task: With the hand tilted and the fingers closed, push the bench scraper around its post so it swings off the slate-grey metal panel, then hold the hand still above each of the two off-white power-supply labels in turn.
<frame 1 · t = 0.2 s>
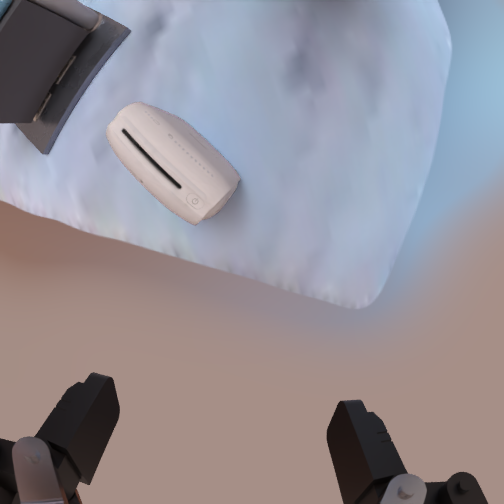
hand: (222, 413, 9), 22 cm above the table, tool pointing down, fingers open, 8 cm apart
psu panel: (61, 74, 24), on the table
photo printer: (198, 158, 27), on the table
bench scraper: (20, 53, 15), point 9 cm above the table, hinge at 0.0°
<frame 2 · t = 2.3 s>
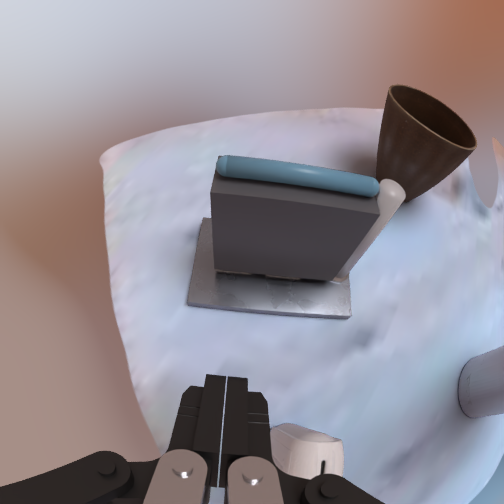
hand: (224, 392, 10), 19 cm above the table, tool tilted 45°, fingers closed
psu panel: (272, 269, 33), on the table
plant pot: (393, 186, 44), on the table
photo printer: (281, 467, 22), on the table
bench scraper: (299, 226, 26), point 9 cm above the table, hinge at 0.0°
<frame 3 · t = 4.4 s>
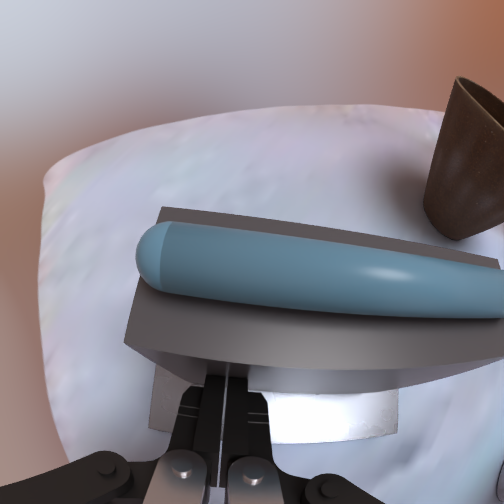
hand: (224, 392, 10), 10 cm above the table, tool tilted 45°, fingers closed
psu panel: (284, 369, 20), on the table
plant pot: (443, 215, 30), on the table
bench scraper: (345, 343, 12), point 9 cm above the table, hinge at -1.2°, touching gripper
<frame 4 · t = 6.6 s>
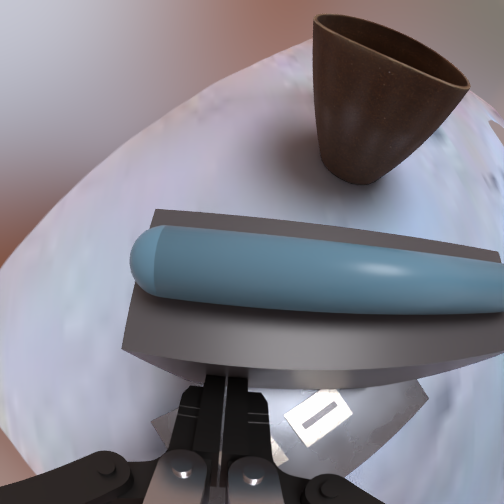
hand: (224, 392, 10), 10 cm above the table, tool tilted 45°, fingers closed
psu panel: (302, 422, 18), on the table
plant pot: (348, 163, 31), on the table
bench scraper: (346, 339, 12), point 9 cm above the table, hinge at -36.3°, touching gripper
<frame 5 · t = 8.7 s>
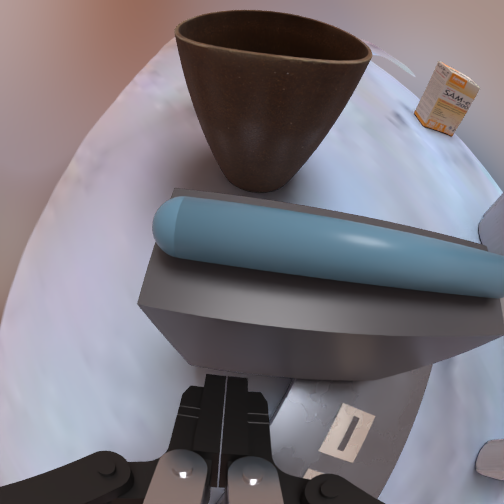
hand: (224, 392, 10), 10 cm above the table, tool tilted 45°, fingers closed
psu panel: (335, 443, 17), on the table
plant pot: (255, 170, 30), on the table
supplement box: (433, 125, 43), on the table
photo printer: (496, 462, 14), on the table
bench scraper: (342, 325, 13), point 9 cm above the table, hinge at -67.7°
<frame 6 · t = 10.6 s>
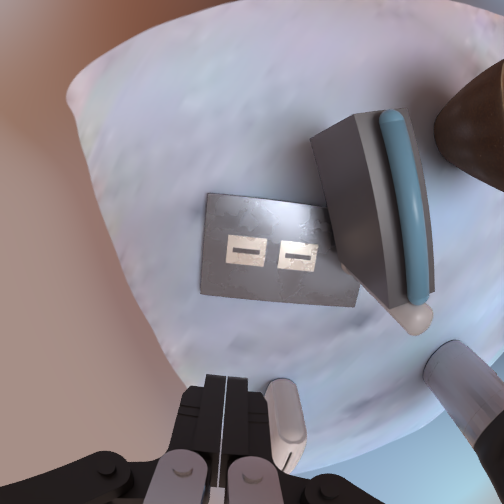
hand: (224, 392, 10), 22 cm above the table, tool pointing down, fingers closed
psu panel: (287, 252, 31), on the table
plant pot: (451, 136, 28), on the table
photo printer: (275, 401, 37), on the table
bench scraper: (372, 216, 22), point 9 cm above the table, hinge at -67.7°
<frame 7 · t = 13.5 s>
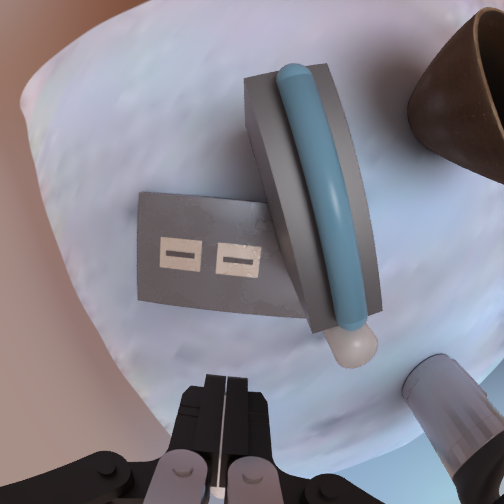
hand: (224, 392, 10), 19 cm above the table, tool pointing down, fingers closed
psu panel: (228, 255, 28), on the table
plant pot: (430, 119, 25), on the table
photo printer: (232, 415, 34), on the table
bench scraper: (306, 211, 18), point 9 cm above the table, hinge at -67.7°
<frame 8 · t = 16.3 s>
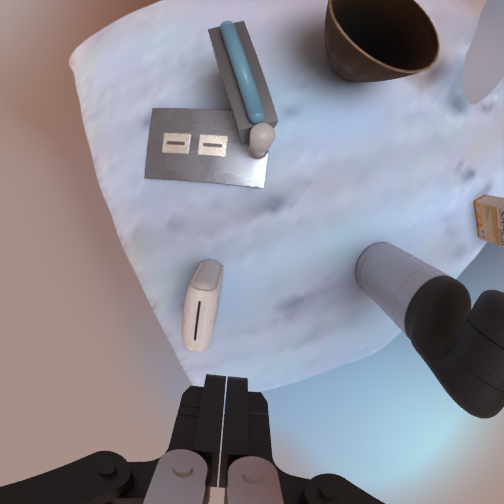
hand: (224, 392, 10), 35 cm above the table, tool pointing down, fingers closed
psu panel: (207, 145, 40), on the table
plant pot: (348, 62, 37), on the table
supplement box: (481, 216, 44), on the table
photo printer: (208, 288, 46), on the table
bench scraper: (245, 94, 30), point 9 cm above the table, hinge at -67.7°
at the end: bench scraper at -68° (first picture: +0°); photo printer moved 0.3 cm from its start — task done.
